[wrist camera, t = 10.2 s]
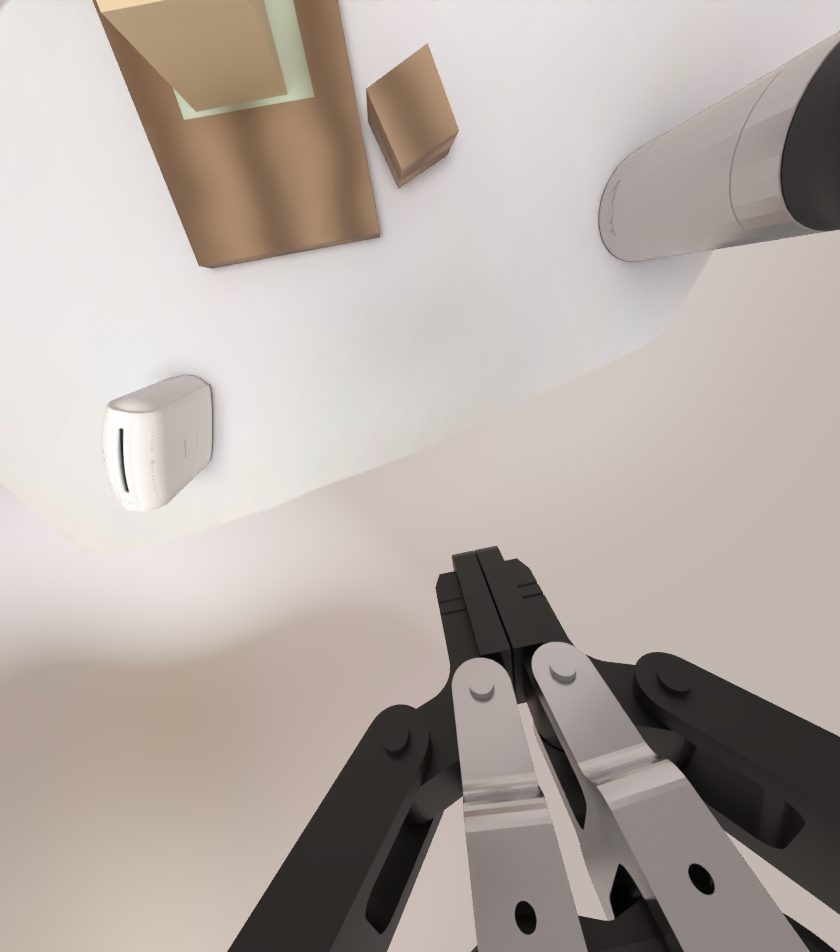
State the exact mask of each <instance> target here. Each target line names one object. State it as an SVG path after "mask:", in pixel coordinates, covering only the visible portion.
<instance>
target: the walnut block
mask: <svg viewBox="0 0 840 952" xmlns="http://www.w3.org/2000/svg"><path fill="white" fill-rule="evenodd" d="M366 95H367V112H368V122H369V124H370V127H371V129H372V131H373V133H374V135H375V138H376V140H377V142H378V144H379V146H380V149H381V151H382V153H383V155H384V157H385V160H386V162H387V164H388V166H389V169H390V171H391V173H392V175H393V177H394V180H395V182H396V184H397V186H398V188H400V187H401V186H403V185H404V184H406V183H407V182H409V181H410V180H411V179H413V178H414V177H416V176H417V175H419V174H420V173H422V172H423V171H425V170H426V169H427V168H429V167H430V166H432V165H433V164H435V163H436V162H438V161H439V160H441V159H442V158H443V157H445V156H446V155H447V154H448V152H449V150H450V148H451V146H452V144H453V142H454V139H455V137H456V135H457V133H458V131H459V129H458V127H457V124H456V121H455V118H454V116H453V113H452V110H451V107H450V105H449V102H448V99H447V96H446V93H445V91H444V88H443V85H442V82H441V80H440V77H439V74H438V71H437V68H436V66H435V63H434V60H433V57H432V55H431V52H430V49H429V46H428V44H426V45H425V46H423V47H422V48H421V49H419V50H418V51H417V52H415V53H414V54H413V55H411V56H410V57H409V58H407V59H406V60H405V61H403V62H402V63H400V64H399V65H398V66H396V67H395V68H394V69H392V70H391V71H390V72H388V73H387V74H386V75H384V76H383V77H382V78H380V79H379V80H378V81H376V82H375V83H374V84H372V85H371V86H370V87H368V88H367V89H366Z"/></svg>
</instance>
